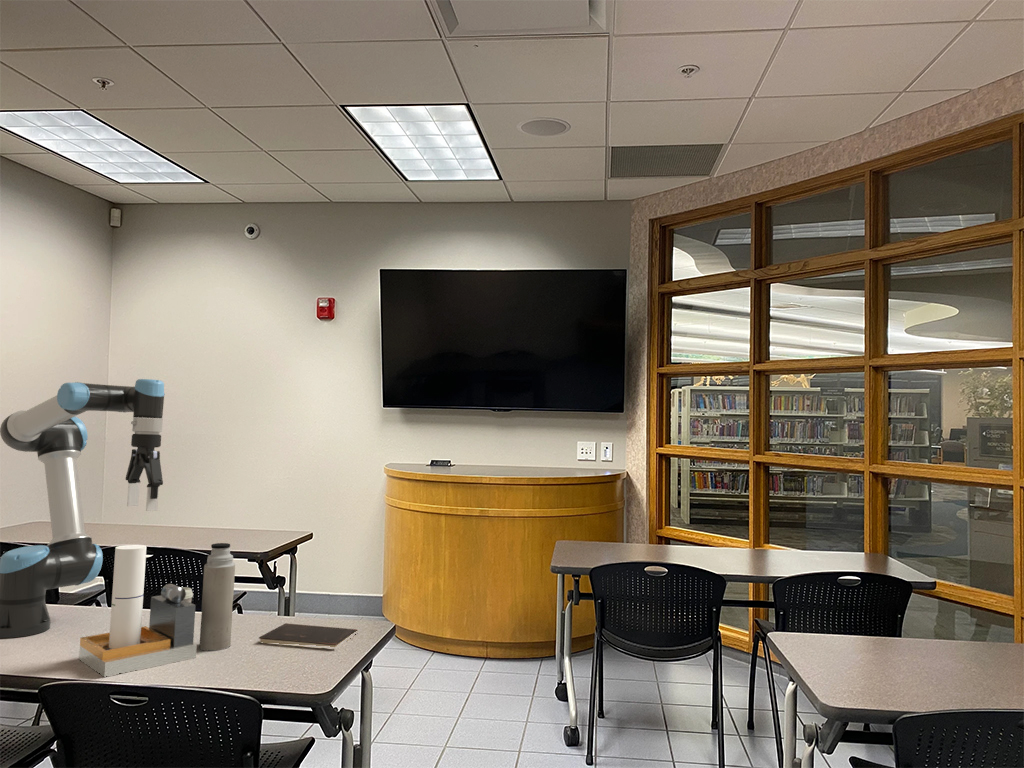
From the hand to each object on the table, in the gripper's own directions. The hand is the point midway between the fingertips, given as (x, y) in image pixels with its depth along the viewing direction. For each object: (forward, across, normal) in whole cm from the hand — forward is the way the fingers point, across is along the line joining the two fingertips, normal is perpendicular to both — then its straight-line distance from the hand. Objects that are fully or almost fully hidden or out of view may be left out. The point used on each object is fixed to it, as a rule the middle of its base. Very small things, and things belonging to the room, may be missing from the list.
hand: (141, 508), depth 201 cm
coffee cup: (+37, -1, +12) cm, 39 cm away
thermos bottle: (+37, +20, +14) cm, 44 cm away
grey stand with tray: (+37, +17, -5) cm, 41 cm away
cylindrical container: (+33, +16, -8) cm, 38 cm away
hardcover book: (+38, +31, +37) cm, 61 cm away
